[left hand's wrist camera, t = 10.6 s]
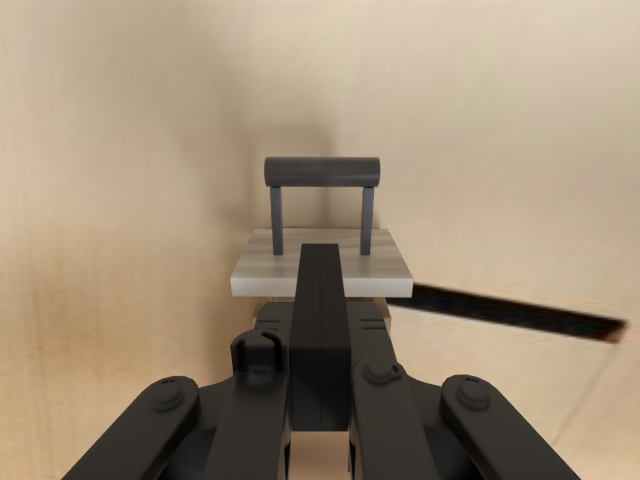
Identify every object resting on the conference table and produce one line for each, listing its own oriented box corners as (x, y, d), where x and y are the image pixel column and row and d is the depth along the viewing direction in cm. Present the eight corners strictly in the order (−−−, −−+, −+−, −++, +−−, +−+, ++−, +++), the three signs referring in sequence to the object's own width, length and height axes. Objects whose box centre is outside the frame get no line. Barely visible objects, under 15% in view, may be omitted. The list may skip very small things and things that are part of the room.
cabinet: (256, 318, 31) (228, 413, 22) (385, 319, 31) (413, 414, 22) (267, 481, 38) (251, 603, 29) (371, 481, 38) (388, 603, 29)
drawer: (249, 146, 24) (218, 167, 17) (394, 147, 24) (426, 168, 17) (267, 419, 34) (252, 509, 26) (372, 420, 34) (387, 509, 26)
